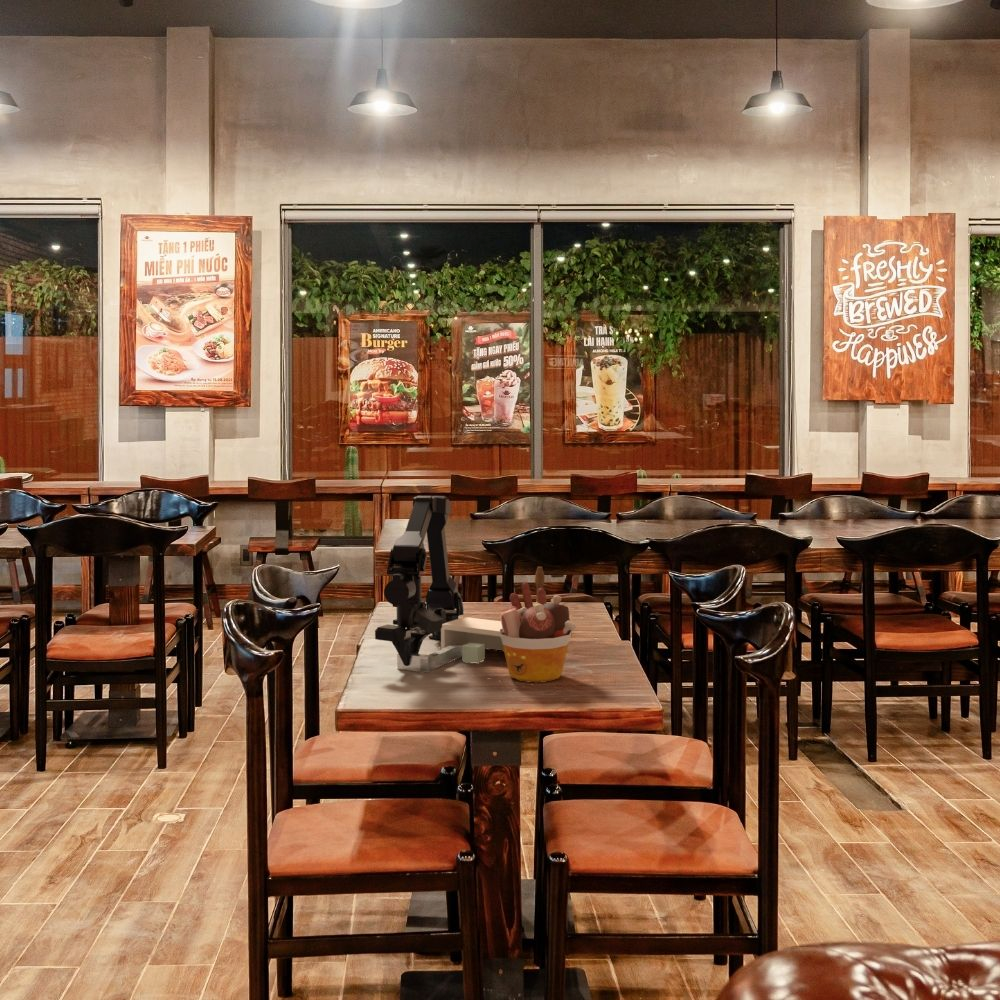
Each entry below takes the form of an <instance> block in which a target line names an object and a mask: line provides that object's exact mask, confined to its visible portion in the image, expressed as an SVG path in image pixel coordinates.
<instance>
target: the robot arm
mask: <svg viewBox="0 0 1000 1000" xmlns="http://www.w3.org/2000/svg"><path fill="white" fill-rule="evenodd" d="M451 511H452V503H451V501H450V500H449V498H448V497H446V496H445V495H417V496H414V497H413V498H412V510H411V513H410V516H409V519H408V522H407V525H406V528H405V531H404V533H403V534H402V535H401V536H399V537H398V538H396V540H395V542H394V544H393V547H391V549H390V553H389V559H388V564H387V570H386V575H388V576H392V577H391V578H392V579H391V581H389V582H387V583H386V585H385V587H384V589H383V595H384V598H385V600H386V601H387V602H388V603H389V604H391V605H392V608H396V618H395V619H393V620H392V624H384V625H379V626H377V627H376V629H375V630H374V639H375V640H377V641H385V642H391V643H392V644H393V646H394V648H395V650H396V652H397V654H399V656H400V658H401V660H402V662H403V664H404V665H405V666H409V661H410V653H414V654H420V650H421V647H422V644H423V641H424V640H425V639H427V637H428V638H429V639H433V640H434V639H435V640H441V628H442V624H444V623H447V622H450V621H453V620H457V619H459V616H464V609H465V608H464V604H463V603H464V602H463V597H462V596H461V593H460V592H459V589H458V584H457V583H456V581H455V580H454V579H453V578H452V577H451V576H450V567H449V559H448V556H449V555H448V550H447V549H448V547H447V539H446V530H445V526H446V524H447V522H448V520H449V518H450V514H451ZM425 538H427V539H426V541H427V545H428V546H427V549H428V553H427V550H426V548H425V545H424V544H425V543H424V541H425ZM428 555H429V565H430V573H431V583H430V584H429V587H428V588H427V591H426V594H425V600H422V576H421V575H422V574H423V572H425V570H426V565H427V562H428V561H427V560H428Z"/></svg>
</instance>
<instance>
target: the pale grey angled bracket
mask: <svg viewBox="0 0 1000 1000" xmlns="http://www.w3.org/2000/svg"><path fill="white" fill-rule="evenodd" d="M463 645H465V644H461V643H455V644H453V645H450V646H448V647H446V648H443V649H441V648H440V649H439V650H437V651H435V652H432V653H429V654H422V653H418V654H414V653H410V661H409V666H405V665H404V664H403V662H402V660H401V658H400V656H399V654H398V653H397V655H396V657H397V663H396V664H397V665H396V666H397V670H403V671H404V670H405V671H414V672H423V673H429V672H432V671H434V670H436V669H438V668H441V667H443V666H444V664H445V665H446V663H447V664H449V663H451V662H453V661H452V660H454V659H456V660H458V659H460V658H459V657H462V646H463ZM457 658H458V659H457ZM450 661H451V662H450ZM454 661H455V660H454ZM448 662H449V663H448ZM442 665H443V666H442ZM440 666H441V667H440ZM437 667H438V668H437ZM435 668H436V669H435ZM431 670H432V671H431Z"/></svg>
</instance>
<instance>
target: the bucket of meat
mask: <svg viewBox="0 0 1000 1000" xmlns="http://www.w3.org/2000/svg"><path fill="white" fill-rule="evenodd" d="M520 588H521V592H522V598H523V603H524V606H522V603H521V600H520V597H519V595H518V594H517V593H515V592H512V593H510V595H509V601H510V603H511V605H510V606H508V607H506V608H505V609H504V610H503V612H500V621H501V624H502V629H500V636H501V639H502V643H503V648H504V651H503V652H504V656H505V661H506V666H507V670H508V675H509V676H510V677H511V678H512V679H513V678H515V679H517V680H516V681H518V680H520V681H519V682H521V681H530V682H541V681H550V682H552V681H551V680H554V681H556V680H555V679H557V680H559V678H560V677H561V675H562V674H563V671H564V668H565V667H564V666H565V662H566V657H567V653H568V649H569V643H570V639H571V636H572V631H574V630H575V629H576V628H577V626H576V624H575V623H574V622H572V621H570V609H569V606H565V605H563V604H560V603H561V602H562V596H560V595H558V594H556V595H553V597H552V598H551V599H550V603H549V602H547V591H546V590H545V589H544V587H543V588H540V589H539V590H538V591H537V590H536V599H537V598H538V604H536V605H535V607H533V604H534V603H533V599H532V598H533V597H532V594H531V588H530V584H528V583H527V582H522V584H521V586H520ZM515 679H514V680H515Z"/></svg>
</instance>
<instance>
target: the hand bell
mask: <svg viewBox="0 0 1000 1000" xmlns="http://www.w3.org/2000/svg"><path fill="white" fill-rule="evenodd" d="M534 576H535V577H534V583H535V586H536V592H537V591H538V590H539V589H540V588H543V589H544V586H545V585H544V584H545V573H544V570H543V566H537V568H536V571H535V575H534ZM536 604H538V598H537V597H536V602H534V603H533V607H535V605H536Z"/></svg>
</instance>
